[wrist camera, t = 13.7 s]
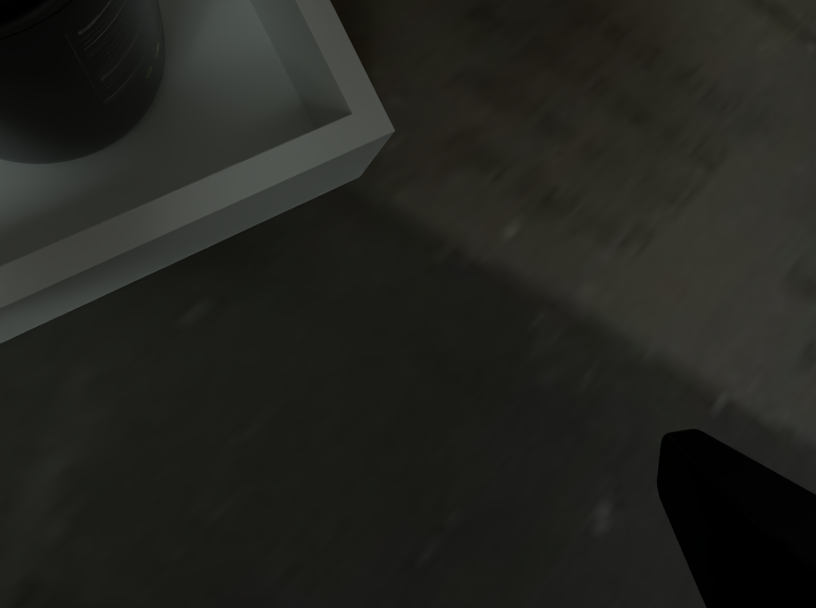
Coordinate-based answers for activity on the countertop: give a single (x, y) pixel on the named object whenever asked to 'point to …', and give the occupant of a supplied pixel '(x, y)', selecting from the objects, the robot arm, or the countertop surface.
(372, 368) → the countertop surface
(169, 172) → the box
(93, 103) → the supplement bottle
